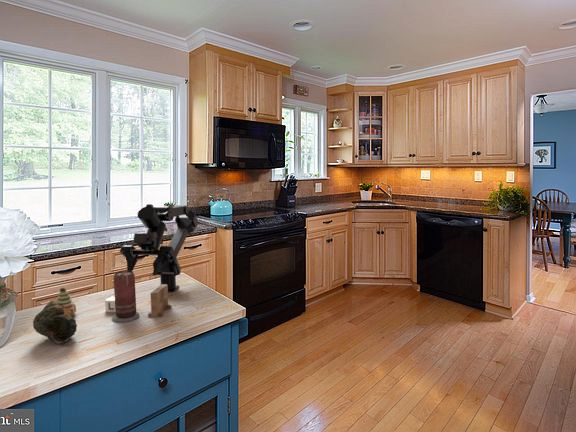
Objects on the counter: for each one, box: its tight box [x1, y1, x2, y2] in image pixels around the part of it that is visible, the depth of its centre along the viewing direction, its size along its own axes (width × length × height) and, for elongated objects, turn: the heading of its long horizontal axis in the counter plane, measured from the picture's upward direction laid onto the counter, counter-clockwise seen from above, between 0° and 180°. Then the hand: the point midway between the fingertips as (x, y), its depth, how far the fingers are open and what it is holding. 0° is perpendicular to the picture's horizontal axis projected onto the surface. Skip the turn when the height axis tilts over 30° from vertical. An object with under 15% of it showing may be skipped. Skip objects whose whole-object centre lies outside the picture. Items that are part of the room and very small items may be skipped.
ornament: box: [50, 287, 77, 319], centre depth 117 cm, size 8×6×10 cm
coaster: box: [111, 311, 140, 324], centre depth 118 cm, size 8×8×1 cm
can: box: [112, 270, 137, 318], centre depth 118 cm, size 6×6×14 cm
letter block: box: [104, 295, 116, 313], centre depth 124 cm, size 4×4×4 cm
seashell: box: [32, 299, 78, 345], centre depth 101 cm, size 11×11×10 cm
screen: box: [147, 284, 173, 318], centre depth 123 cm, size 9×4×8 cm, turn 176°
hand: (141, 274), depth 124 cm, fingers open, 9 cm apart
